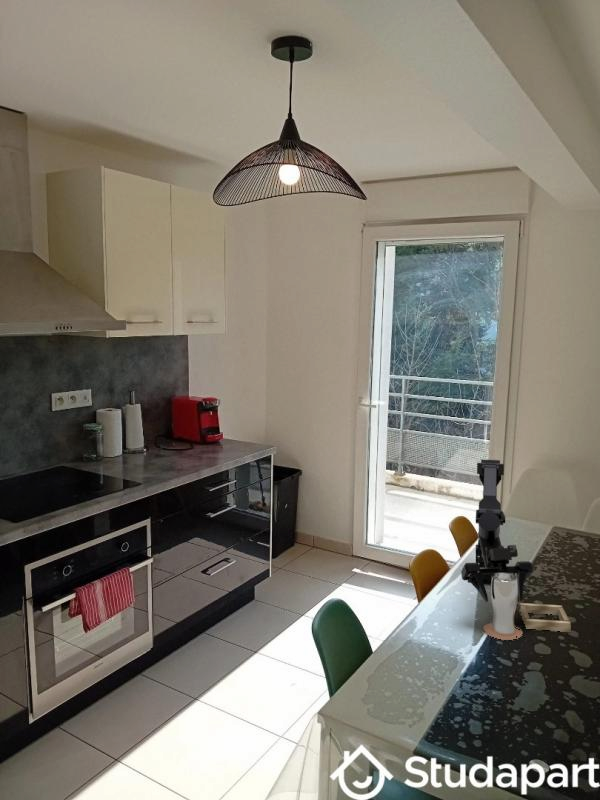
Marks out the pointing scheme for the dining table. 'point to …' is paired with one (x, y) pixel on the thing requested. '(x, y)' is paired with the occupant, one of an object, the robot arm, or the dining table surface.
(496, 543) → the robot arm
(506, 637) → the mat
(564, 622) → the pocket frame
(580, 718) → the dining table surface
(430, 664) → the dining table surface
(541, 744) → the dining table surface
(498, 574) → the beer glass
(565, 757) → the dining table surface
